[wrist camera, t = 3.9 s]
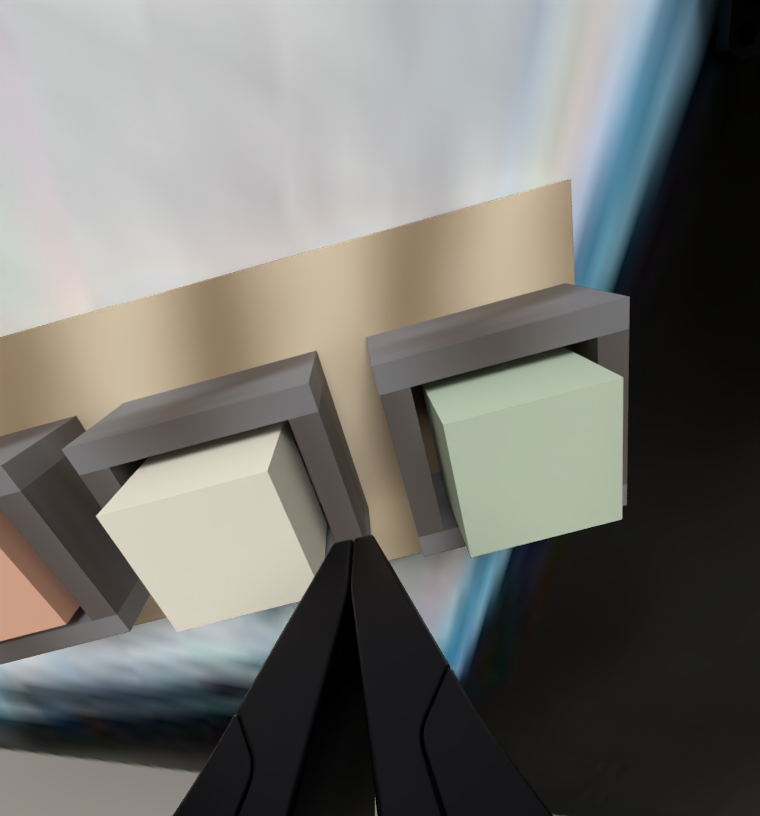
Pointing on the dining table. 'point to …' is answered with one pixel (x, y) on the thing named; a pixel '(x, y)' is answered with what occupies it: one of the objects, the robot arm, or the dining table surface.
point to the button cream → (221, 526)
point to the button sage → (529, 448)
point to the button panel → (288, 385)
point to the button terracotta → (28, 588)
